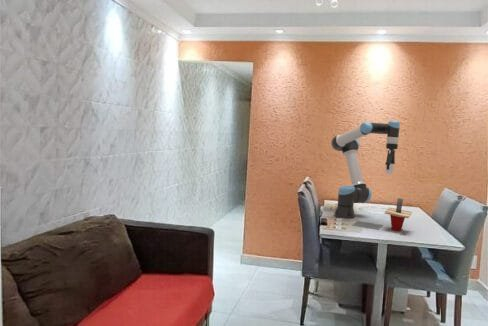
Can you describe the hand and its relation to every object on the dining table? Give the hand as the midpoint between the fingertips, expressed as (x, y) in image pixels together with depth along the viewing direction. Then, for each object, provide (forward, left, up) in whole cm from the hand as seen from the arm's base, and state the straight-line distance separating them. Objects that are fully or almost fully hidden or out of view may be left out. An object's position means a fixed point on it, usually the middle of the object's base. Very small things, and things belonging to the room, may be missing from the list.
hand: (389, 173), depth 295 cm
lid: (+12, +10, -25) cm, 29 cm away
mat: (+12, -9, -37) cm, 40 cm away
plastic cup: (+12, +10, -37) cm, 40 cm away
